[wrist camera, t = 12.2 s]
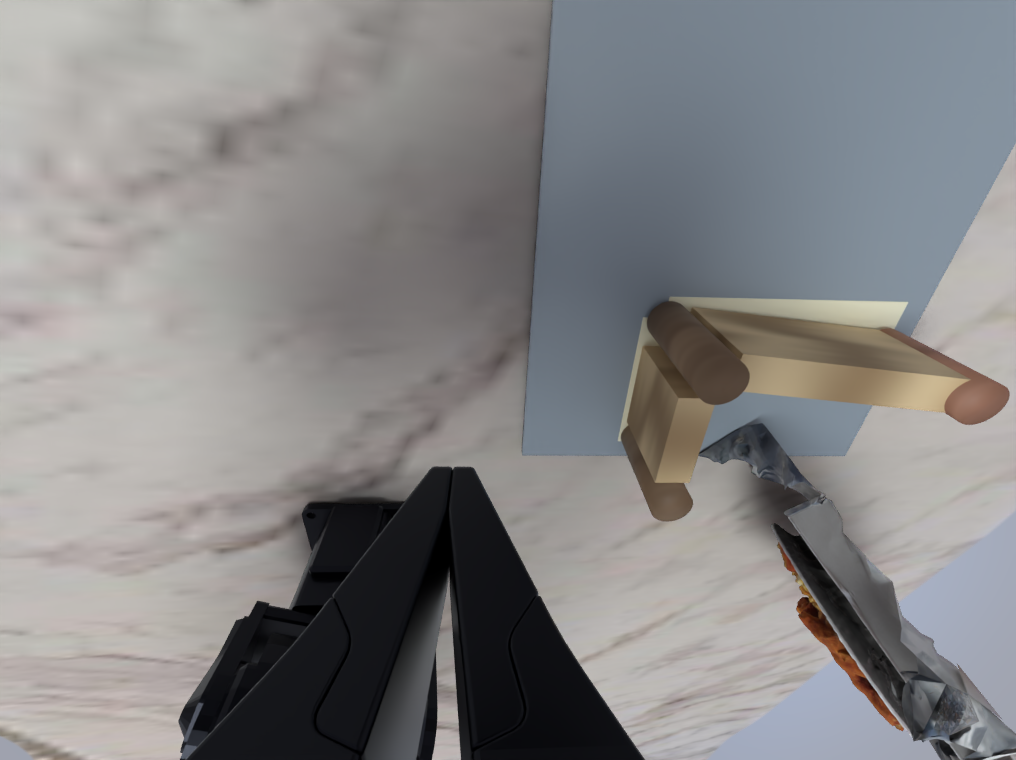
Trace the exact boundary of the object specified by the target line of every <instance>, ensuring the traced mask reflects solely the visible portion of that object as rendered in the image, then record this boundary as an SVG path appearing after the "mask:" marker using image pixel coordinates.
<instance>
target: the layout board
mask: <svg viewBox="0 0 1016 760" xmlns="http://www.w3.org/2000/svg"><path fill="white" fill-rule="evenodd" d="M1015 143H1016V0H552V14H551V28H550V43H549V58H548V73H547V87H546V102H545V117H544V132H543V146H542V161H541V176H540V190H539V205H538V220H537V235H536V249H535V264H534V279H533V294H532V308H531V323H530V338H529V352H528V367H527V382H526V397H525V411H524V426H523V441H522V455H586V456H627V454H626V451H625V449H624V446H623V444H622V442H621V433H622V431H623V430H624V429H625V428H626V427H627V426H628V423H627V418H628V413H629V408H630V403H631V399H632V394H633V389H634V385H635V380H636V375H637V370H638V366H639V361H640V356H641V352H642V347H643V346H659V344H658V343H657V342H656V340H655V339H654V338H653V336H652V335H651V334H650V332H649V331H648V328H647V319H648V316H649V314H650V313H651V311H652V310H653V309H654V308H655V307H656V306H658V305H659V304H661V303H664V302H668V301H674V302H678V303H680V304H682V305H683V306H684V307H685V308H686V309H687V310H688V311H689V312H690V311H691V309H692V307H696V308H704V309H712V310H720V311H729V312H737V313H745V314H753V315H761V316H769V317H777V318H785V319H794V320H802V321H810V322H818V323H826V324H834V325H842V326H850V327H858V328H867V329H875V330H881V329H885V328H892V329H895V330H897V331H899V332H901V333H903V334H905V335H907V336H909V337H910V336H911V334H912V332H913V330H914V328H915V326H916V325H917V323H918V321H919V319H920V317H921V315H922V314H923V312H924V310H925V308H926V306H927V304H928V303H929V301H930V299H931V297H932V295H933V293H934V292H935V290H936V288H937V286H938V284H939V282H940V281H941V279H942V277H943V275H944V273H945V271H946V270H947V268H948V266H949V264H950V262H951V260H952V259H953V257H954V255H955V253H956V251H957V249H958V248H959V246H960V244H961V242H962V240H963V238H964V237H965V235H966V233H967V231H968V229H969V227H970V226H971V224H972V222H973V220H974V218H975V216H976V215H977V213H978V211H979V209H980V207H981V205H982V204H983V202H984V200H985V198H986V196H987V194H988V193H989V191H990V189H991V187H992V185H993V183H994V182H995V180H996V178H997V176H998V174H999V172H1000V171H1001V169H1002V167H1003V165H1004V163H1005V161H1006V160H1007V158H1008V156H1009V154H1010V152H1011V150H1012V149H1013V147H1014V145H1015ZM871 407H872V405H866V404H856V403H847V402H837V401H827V400H818V399H808V398H798V397H788V396H779V395H769V394H759V393H750V392H743V393H742V394H741V395H740V396H739V397H737V398H736V399H734V400H733V401H731V402H728V403H725V404H721V405H715V406H714V409H713V412H712V415H711V418H710V422H709V425H708V428H707V431H706V434H705V437H704V440H703V443H702V446H701V449H700V452H699V454H700V453H702V452H704V451H706V450H707V449H709V448H710V447H712V446H713V445H715V444H716V443H718V442H719V441H721V440H722V439H724V438H725V437H727V436H728V435H730V434H731V433H733V432H734V431H737V430H739V429H742V428H744V427H747V426H749V425H754V424H760V423H763V424H764V425H765V426H766V428H767V429H768V430H769V431H770V433H771V434H772V435H773V437H774V438H775V439H776V440H777V442H778V443H779V444H780V446H781V447H782V448H783V450H784V451H785V453H786V454H787V455H788V456H845V455H846V453H847V451H848V449H849V448H850V446H851V444H852V442H853V440H854V438H855V437H856V435H857V433H858V431H859V429H860V427H861V426H862V424H863V422H864V420H865V418H866V416H867V415H868V413H869V411H870V409H871ZM698 456H699V455H698Z"/></svg>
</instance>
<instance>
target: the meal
mask: <svg viewBox="0 0 1016 760" xmlns="http://www.w3.org/2000/svg"><path fill="white" fill-rule="evenodd" d="M699 456H702V457H706V458H709V459H711V460H712V461H714V462H719V463H721V464H724V463H725V462H727V461H728V460H730V459H739V460H743V461H746V462H748V463H749V464H751V465H752V466H753V469H752V472H751V473H753V474H755V475H757V476H758V477H759V478H764V479H767V480H770V481H773V482H777V483H780V484H782V485H784V488H785V489H786V487H789V488H792V489H794V490H796V491H798V492H799V493H801V494H802V495H803V496H804V497H806V498H807V499H808V500H809V501H805V502H804V503H802V504H800V505H797V506H795V507H792V508H790V509H788V510H785V511H784V514H785V515H786V516H787V517H788V518H789V520H790V521H791V522H792V524H793V525H794V527H795V528H796V530H797V531H798V532H799V534H800V535H799V536H793V535H791V534H790V533H788V532H787V531H785V530H784V529H783V528H781V527H780V526H779V525H778V524H775V523H774V524H772V525H771V527H772V530H773V532H774V534H775V535H776V538H777V540H778V541H779V542H778V545H777V546H778V548H779V549H780V551H781V554H782V557H783V560H784V565H785V567H786V568H787V570H789V571H791V572H792V575H795V576H796V578H797V579H796V582H797V583H798V584H799V585H801V586H800V587H799V588H800V590H801V591H802V594H804V595H808V596H809V598H807V597H802V598H801V599H800V600H799V601H798V606H797V608H796V610H797V611H798V613H799V615H798V616H799V618H800V619H801V621H802V622H803V623H804V625H805V626H806V627H807V628H808V629H809V630H810V631H811V632H812V634H813V635H814V636H815V637H816V638H817V639H818V640H819V641H820V642H821V643H823V644H824V645H826V646H827V647H828V649H829V651H830V652H831V654H832V656H833V658H834V660H835V661H836V662H837V664H838V665H839V666H840V667H841V668H842V669H843V670H845V671H846V672H847V674H848V675H849V677H850V678H851V681H852V683H853V684H854V685H855V686H856V688H857V689H859V690H860V691H861V692H862V693H864V694H865V695H866V696H867V698H868V699H869V700H870V702H871V703H872V704H873V706H874V707H875V708H876V709H877V711H878V712H879V713H880V714H881V715H882V716H883V717H884V718H885V719H886V720H887V721H888V722H889V723H890V724H891V725H892V726H895V727H896V728H897V729H899V730H901V731H903V729H905V730H906V731H907V732H908V733H909V734H910V736H911V737H912V738H913V740H914V741H917V740H922V742H924V741H926V740H929V741H930V743H931V744H932V746H933V748H934V749H935V751H936V752H937V754H938V756H939V757H940V759H941V760H1016V734H1015V733H1014V732H1013V731H1012V730H1011V729H1009V728H1008V727H1007V726H1006V725H1005V724H1004V723H1003V722H1002V721H1001V720H1000V719H999V718H998V717H1000V716H999V715H998V713H997V712H996V711H995V710H994V708H993V707H992V706H991V705H990V704H989V702H988V701H987V700H986V699H985V697H984V696H983V695H982V694H981V692H980V691H979V690H978V689H977V687H976V686H975V685H974V684H973V683H972V681H971V680H970V679H969V678H968V676H967V675H966V674H965V673H964V672H963V670H962V669H961V668H960V667H959V665H958V668H959V669H958V668H957V667H956V666H955V665H953V664H952V663H951V662H949V661H948V660H947V659H945V658H944V657H942V656H941V655H939V654H938V653H937V652H936V650H935V648H934V646H933V643H934V641H933V639H931V638H929V637H927V636H925V635H923V634H921V633H920V632H919V631H918V630H917V629H916V628H915V627H914V626H913V625H912V624H911V623H909V621H907V620H906V619H905V618H904V617H903V616H902V613H901V611H900V606H899V603H898V601H897V598H896V594H895V590H894V586H893V582H892V581H891V580H890V579H889V578H888V577H886V576H885V575H884V574H883V573H882V572H881V571H880V570H879V569H878V568H877V567H876V566H875V565H873V564H872V563H871V562H870V561H869V560H868V559H867V558H866V556H865V555H864V554H863V553H862V552H861V551H860V550H859V549H858V548H857V547H856V546H855V545H854V544H853V543H852V542H851V541H850V540H849V539H848V538H847V537H846V536H845V535H844V534H843V526H842V518H841V516H840V515H839V513H838V511H837V510H836V508H835V506H834V505H833V502H832V501H831V500H829V499H827V498H826V497H825V496H826V495H825V494H823V493H822V492H820V491H818V490H816V489H815V488H814V487H813V486H812V485H811V484H810V483H809V482H808V481H807V480H806V479H805V477H804V476H803V475H802V474H801V473H800V472H799V470H798V469H797V468H796V466H795V465H794V464H793V462H792V461H791V459H790V458H789V457H788V455H787V454H786V453H785V451H784V450H783V448H782V447H781V446H780V444H779V443H778V442H777V440H776V439H775V438H774V437H773V435H772V434H771V433H770V431H769V430H768V429H767V428H766V426H765V425H764V424H763V423H760V424H754V425H749V426H747V427H744V428H742V429H739V430H737V431H734V432H733V433H731V434H730V435H728V436H727V437H725V438H724V439H722V440H721V441H719V442H718V443H716V444H715V445H713V446H712V447H710V448H709V449H707V450H706V451H704V452H702V453H700V454H699ZM824 497H825V499H824V500H823V501H822V500H821V499H822V498H824ZM991 711H992V712H993V713H992V712H991ZM994 714H996V715H997V716H998V717H997V716H996V715H994ZM1000 718H1001V717H1000Z"/></svg>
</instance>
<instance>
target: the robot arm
mask: <svg viewBox="0 0 1016 760" xmlns="http://www.w3.org/2000/svg"><path fill="white" fill-rule="evenodd" d="M302 517H303V521H304V525H305V528H306V532H307V535H308V539H309V542H310V546H311V549H312V553H311V556H310V558H309V561H308V563H307V566H306V568H305V571H304V573H303V576H302V578H301V581H300V583H299V586H298V588H297V591H296V593H295V595H294V598H293V600H292V603H291V605H290V608H289V609H285V608H280V607H275V606H270V605H269V603H266V602H261V601H257V603H256V604H255V606H254V608H253V610H252V612H251V614H250V615H249V617H247V616H245V617H244V618H243V619H240V620H236V622H235V624H234V626H233V628H232V630H231V632H230V634H229V636H228V638H227V640H226V642H225V644H224V646H223V648H222V650H221V651H220V653H219V655H218V657H217V659H216V660H215V662H214V663H213V665H212V666H211V668H210V669H209V671H208V672H207V674H206V675H205V677H204V678H203V680H202V681H201V683H200V684H199V686H198V687H197V689H196V690H195V692H194V693H193V695H192V696H191V698H190V699H189V700H188V702H187V704H186V705H185V707H184V709H183V711H182V713H181V716H180V718H179V725H180V728H181V730H182V733H183V736H184V741H183V744H182V747H181V751H180V753H182V756H181V759H180V760H432V755H433V750H434V744H435V737H436V728H437V676H436V646H437V641H438V635H439V630H440V624H441V619H442V613H443V608H444V602H445V597H446V591H447V585H448V578H449V575H450V597H451V613H452V628H453V643H454V658H455V674H456V689H457V704H458V719H459V735H460V750H461V760H645V759H644V757H643V756H642V755H641V753H640V752H639V750H638V749H637V748H636V746H635V745H634V743H633V742H632V740H631V739H630V738H629V736H628V735H627V733H626V732H625V730H624V729H623V727H622V726H621V724H620V723H619V721H618V720H617V719H616V717H615V716H614V714H613V713H612V711H611V710H610V708H609V707H608V705H607V704H606V702H605V701H604V700H603V698H602V697H601V695H600V694H599V692H598V691H597V689H596V688H595V686H594V685H593V683H592V682H591V680H590V679H589V678H588V676H587V675H586V673H585V672H584V670H583V669H582V667H581V666H580V664H579V662H578V661H577V659H576V658H575V656H574V655H573V653H572V652H571V650H570V648H569V647H568V645H567V644H566V642H565V641H564V639H563V637H562V635H561V633H560V632H559V630H558V628H557V626H556V625H555V623H554V621H553V619H552V617H551V616H550V614H549V612H548V610H547V608H546V606H545V604H544V602H543V600H542V598H541V597H540V596H538V591H537V589H536V587H535V585H534V583H533V581H532V580H531V578H530V576H529V574H528V572H527V570H526V568H525V566H524V564H523V562H522V560H521V558H520V556H519V554H518V552H517V551H516V549H515V547H514V545H513V543H512V541H511V539H510V537H509V535H508V533H507V531H506V529H505V527H504V525H503V524H502V522H501V520H500V518H499V516H498V514H497V512H496V510H495V508H494V506H493V504H492V502H491V500H490V498H489V496H488V495H487V493H486V491H485V489H484V487H483V485H482V483H481V481H480V479H479V477H478V475H477V473H476V471H475V470H474V468H472V467H455V468H454V469H453V470H452V468H451V467H432V468H431V469H430V470H429V471H428V473H427V474H426V475H425V477H424V478H423V479H422V480H421V482H420V483H419V484H418V486H417V487H416V488H415V489H414V491H413V492H412V493H411V495H410V496H409V497H408V498H407V500H406V501H405V502H404V504H308V505H307V506H306V507H305V508H304V510H303V512H302Z"/></svg>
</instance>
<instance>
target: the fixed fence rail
mask: <svg viewBox="0 0 1016 760" xmlns="http://www.w3.org/2000/svg"><path fill="white" fill-rule="evenodd" d="M714 406H715V405H711V404H707V403H705V402H703V401H702V400H701V399H700V398H699V397H698V396H697V394H696V393H695V392H694V390H693V389H692V388H691V386H690V385H689V384H688V382H687V381H686V380H685V378H684V377H683V376H682V375H681V373H680V372H679V371H678V369H677V368H676V367H675V365H674V364H673V363H672V361H671V360H670V359H669V357H668V356H667V355H666V353H665V352H664V351H663V350H662V348H661V347H660V346H643V347H642V352H641V356H640V361H639V366H638V370H637V375H636V380H635V385H634V389H633V394H632V399H631V403H630V408H629V413H628V418H627V423H628V426H627V427H626V428H625V429H624V430H623V431H622V433H621V442H622V444H623V446H624V449H625V451H626V454H627V456H628V458H629V461H630V463H631V466H632V468H633V470H634V473H635V475H636V478H637V480H638V482H639V485H640V487H641V490H642V492H643V494H644V497H645V499H646V502H647V504H648V506H649V509H650V511H651V514H652V515H653V517H654V518H656V519H658V520H660V521H674V520H677V519H680V518H682V517H684V516H685V515H686V514H687V513H688V512H689V511H690V510H691V508H692V505H693V500H692V498H691V496H690V494H689V492H688V491H687V489H686V487H685V485H684V483H689V482H690V479H691V476H692V473H693V470H694V467H695V464H696V461H697V458H698V455H699V452H700V449H701V446H702V443H703V440H704V437H705V434H706V431H707V428H708V425H709V422H710V418H711V415H712V412H713V409H714Z"/></svg>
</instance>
